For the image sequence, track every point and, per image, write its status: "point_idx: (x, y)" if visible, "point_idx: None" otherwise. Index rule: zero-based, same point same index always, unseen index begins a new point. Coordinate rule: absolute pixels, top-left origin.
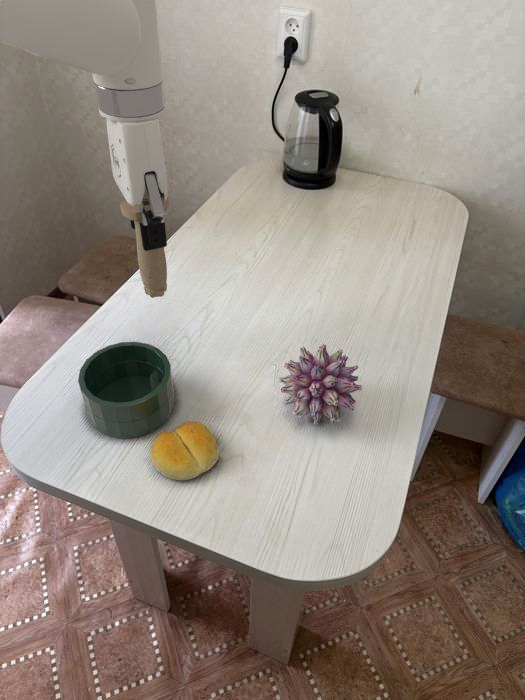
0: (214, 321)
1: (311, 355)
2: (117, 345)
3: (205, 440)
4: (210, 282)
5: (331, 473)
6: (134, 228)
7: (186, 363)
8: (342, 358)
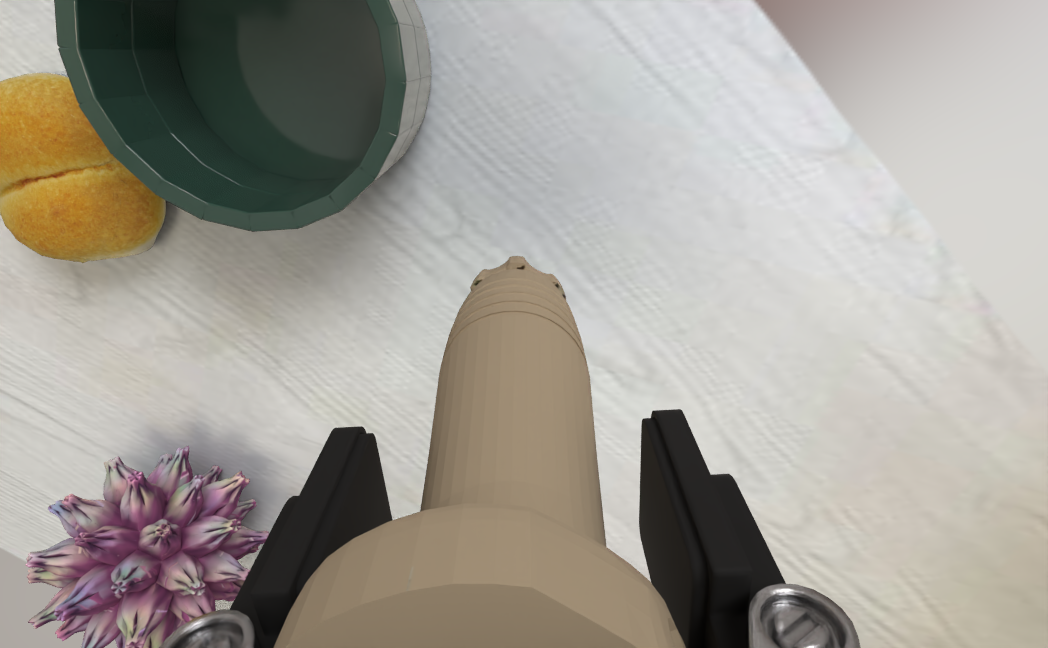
0: None
1: (179, 594)
2: (389, 64)
3: (33, 239)
4: (761, 419)
5: (26, 450)
6: (643, 422)
7: (431, 260)
8: None
